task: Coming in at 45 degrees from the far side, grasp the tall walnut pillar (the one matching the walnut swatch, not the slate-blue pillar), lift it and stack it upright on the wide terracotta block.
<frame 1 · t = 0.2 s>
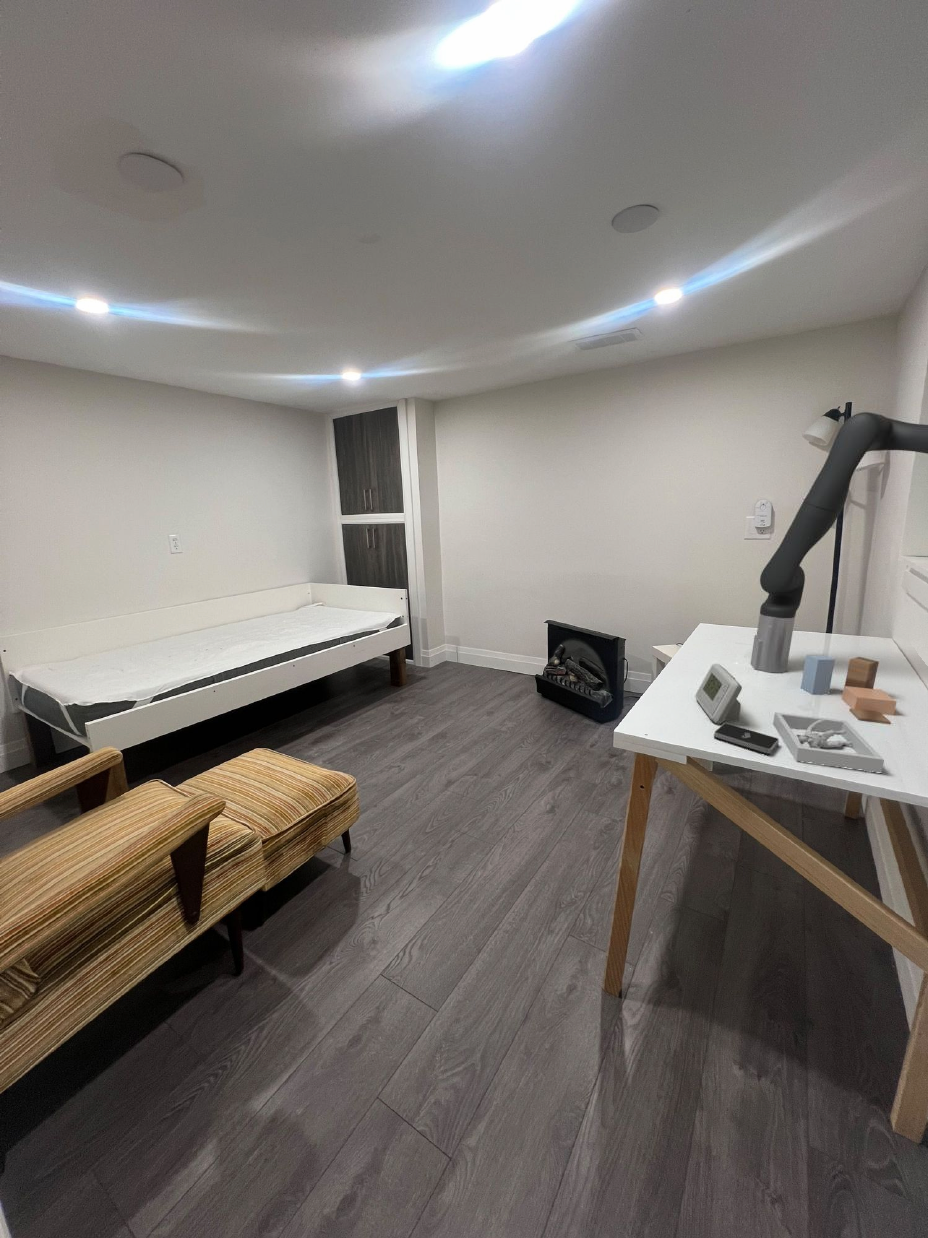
slate pillar: (814, 691, 133), on the table
grey display tray: (821, 746, 103), on the table
terracotta block: (866, 708, 123), on the table
soldier figure: (822, 748, 103), resting in grey display tray
walnut swatch: (869, 717, 117), on the table
digital clock: (714, 713, 120), on the table
walnut pillar: (857, 695, 130), on the table
external hard drive: (744, 744, 105), on the table
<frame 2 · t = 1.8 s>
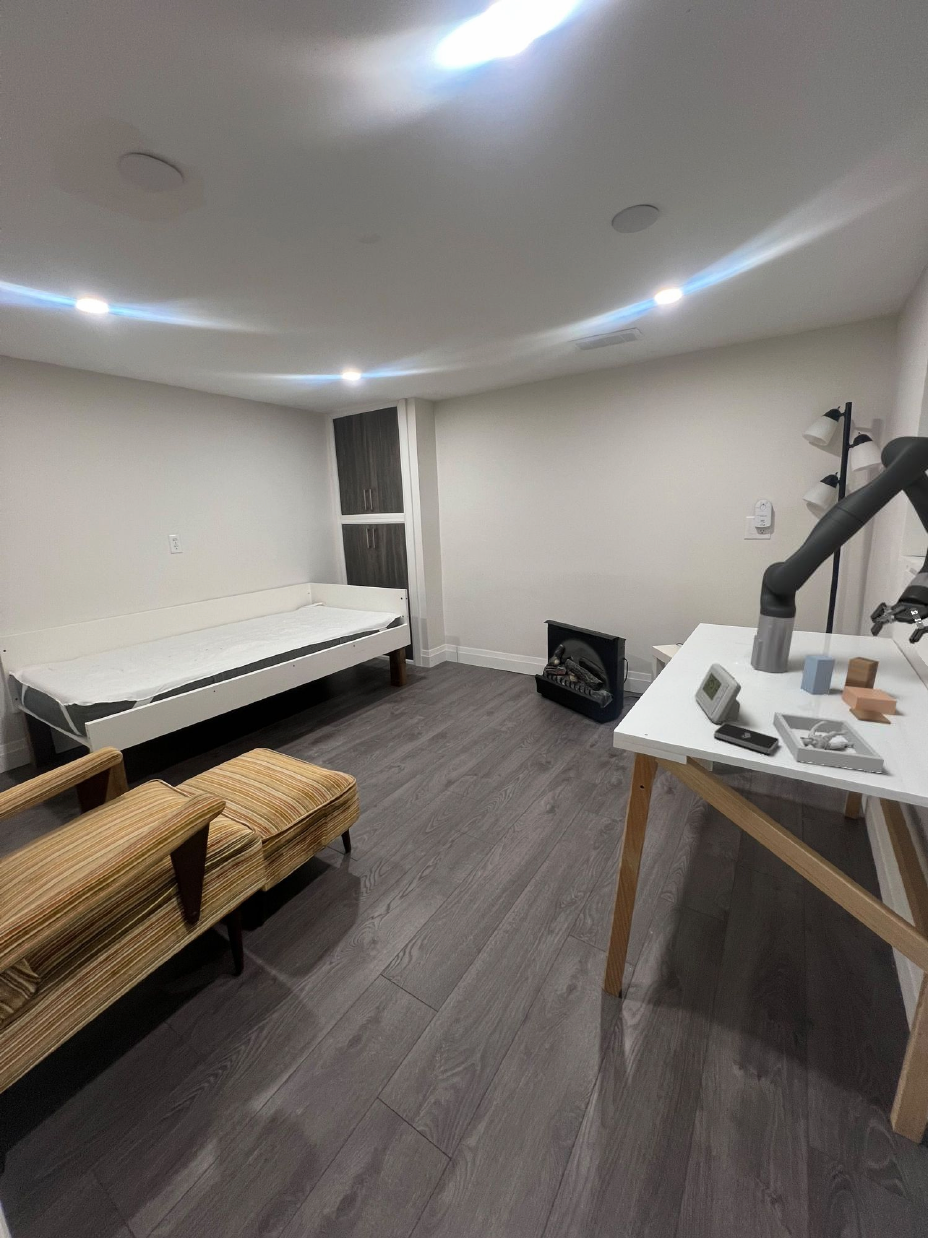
hand: (891, 638, 131), 15 cm above the table, tool tilted 45°, fingers open, 8 cm apart
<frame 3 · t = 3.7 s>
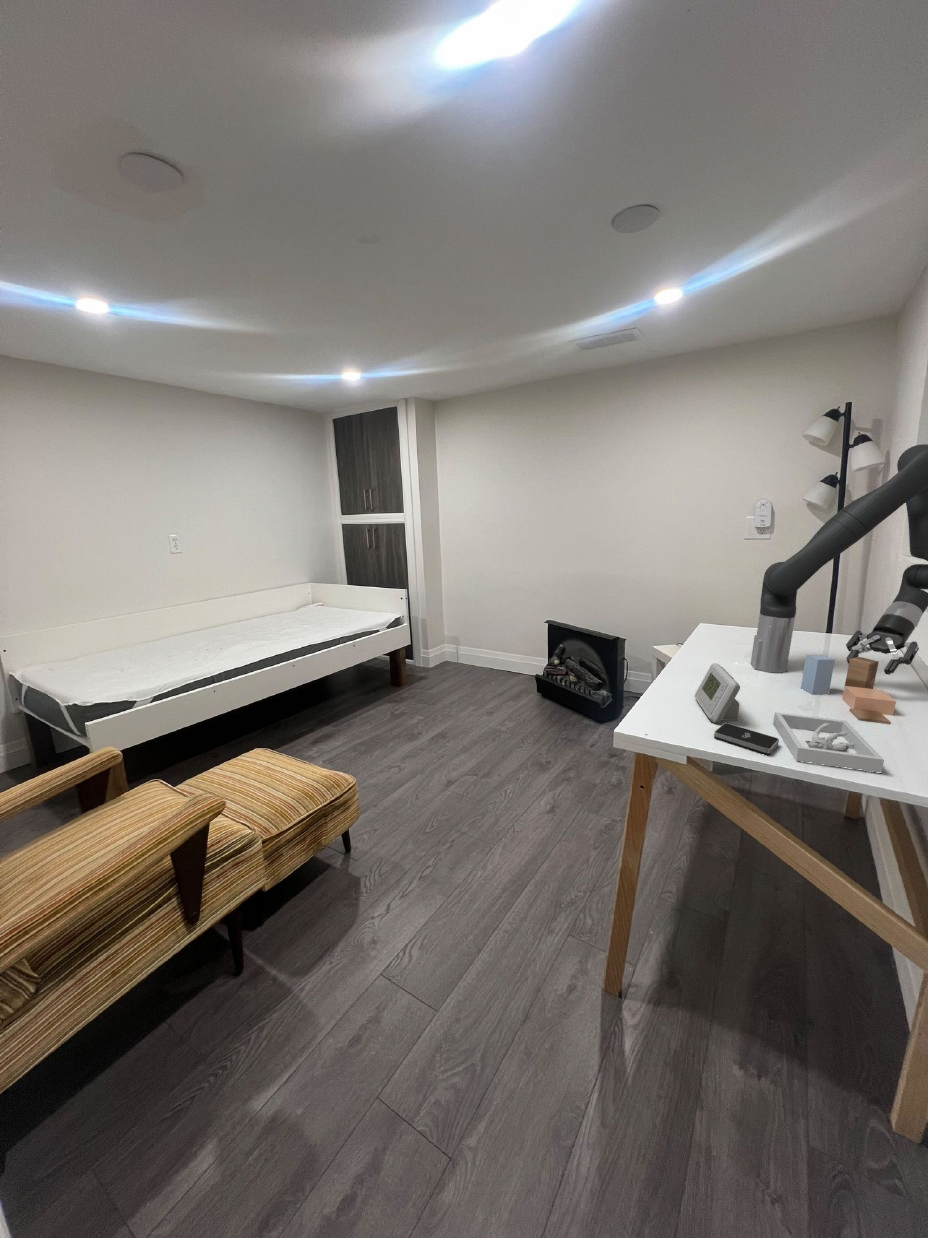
hand: (867, 668, 129), 7 cm above the table, tool tilted 45°, fingers open, 8 cm apart
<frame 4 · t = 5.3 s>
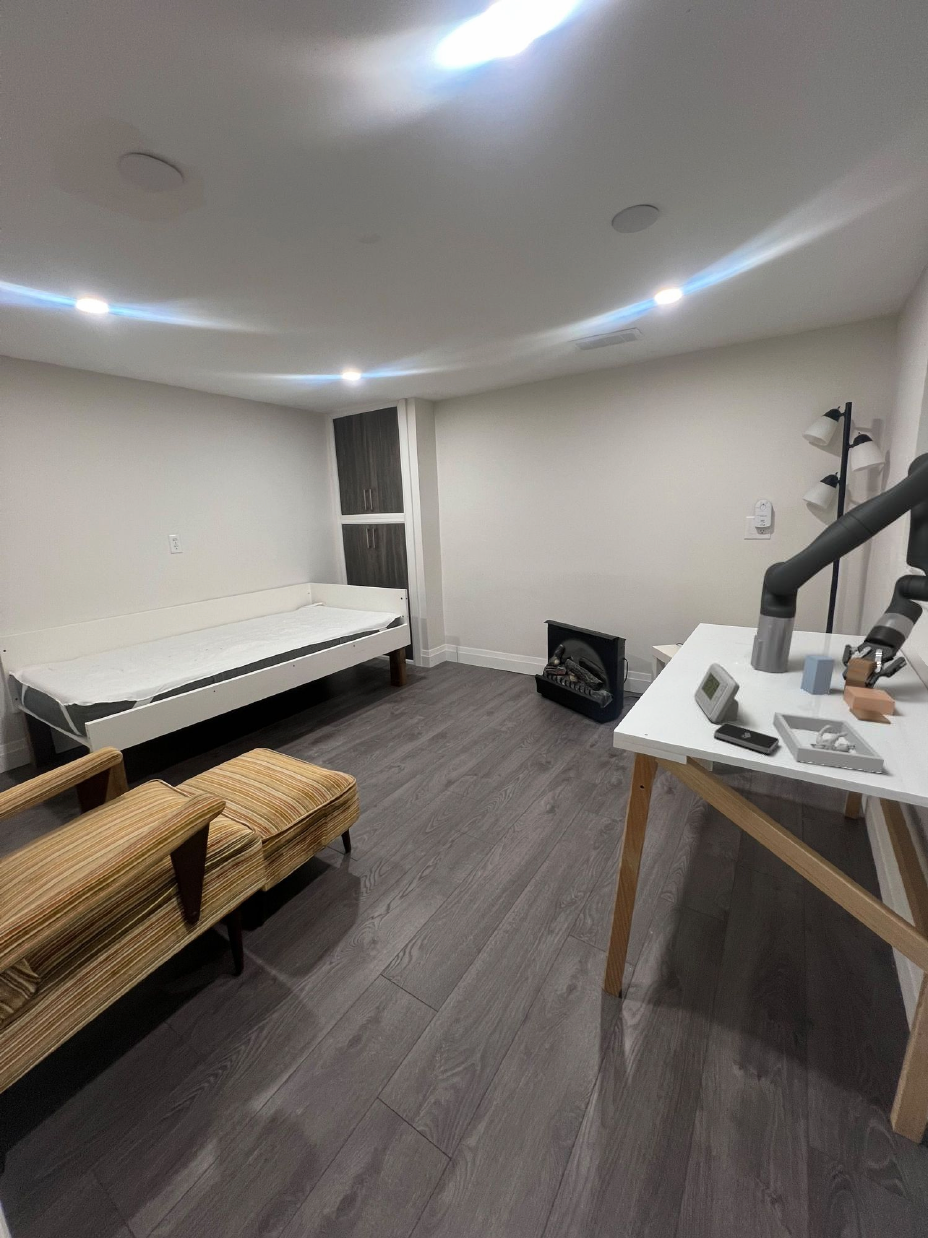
hand: (856, 682, 129), 4 cm above the table, tool tilted 45°, fingers closed on walnut pillar, 4 cm apart
soldier figure: (831, 754, 100), resting in grey display tray
walnut pillar: (857, 695, 130), on the table, touching gripper
everything else where it was.
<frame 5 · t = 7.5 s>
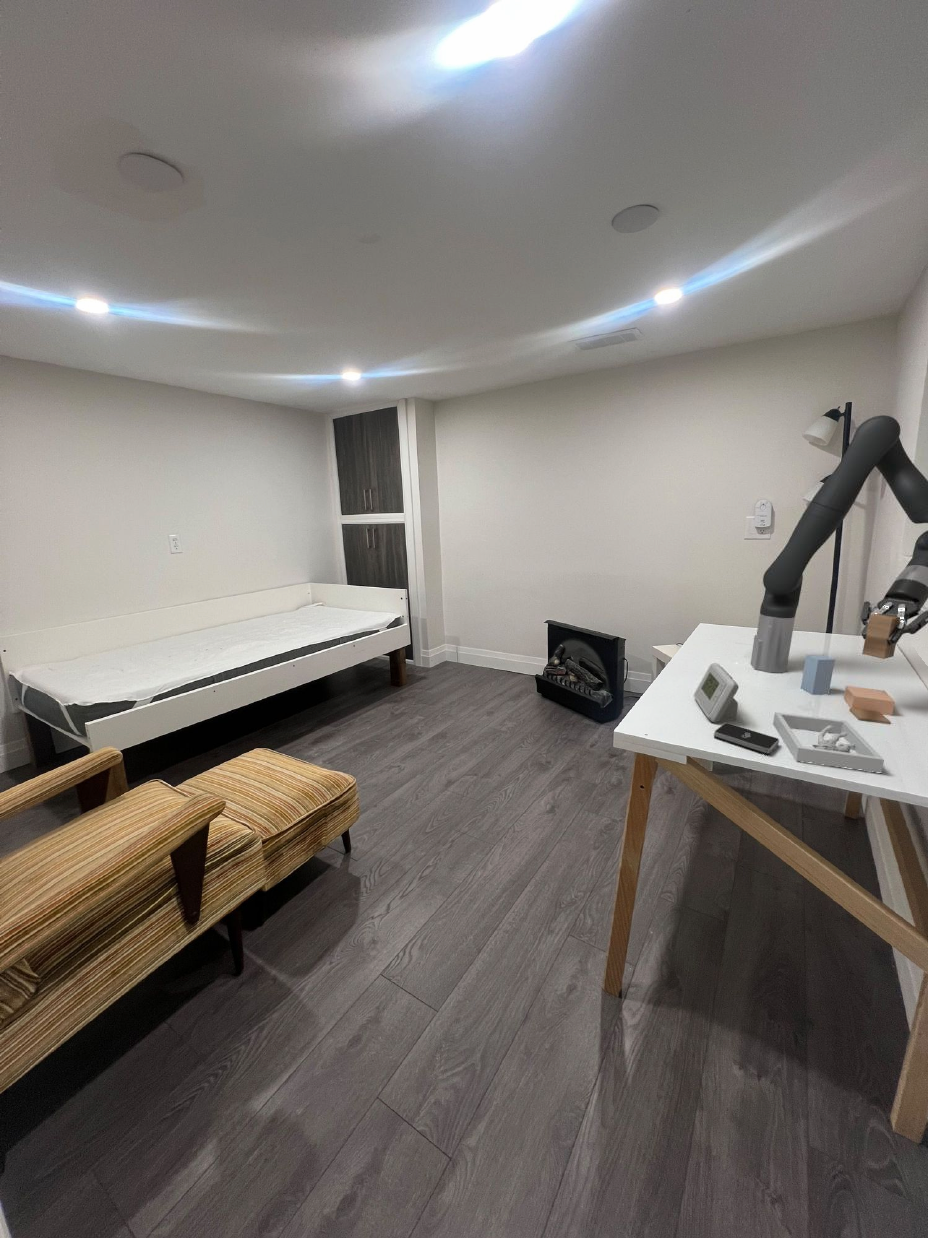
hand: (876, 640, 118), 18 cm above the table, tool tilted 45°, fingers closed on walnut pillar, 4 cm apart
walnut pillar: (877, 655, 120), point 14 cm above the table, touching gripper
everything else where it was.
when the fingers open (10 cm above the table, at t = 9.8 s): walnut pillar drops 2 cm, resting on terracotta block.
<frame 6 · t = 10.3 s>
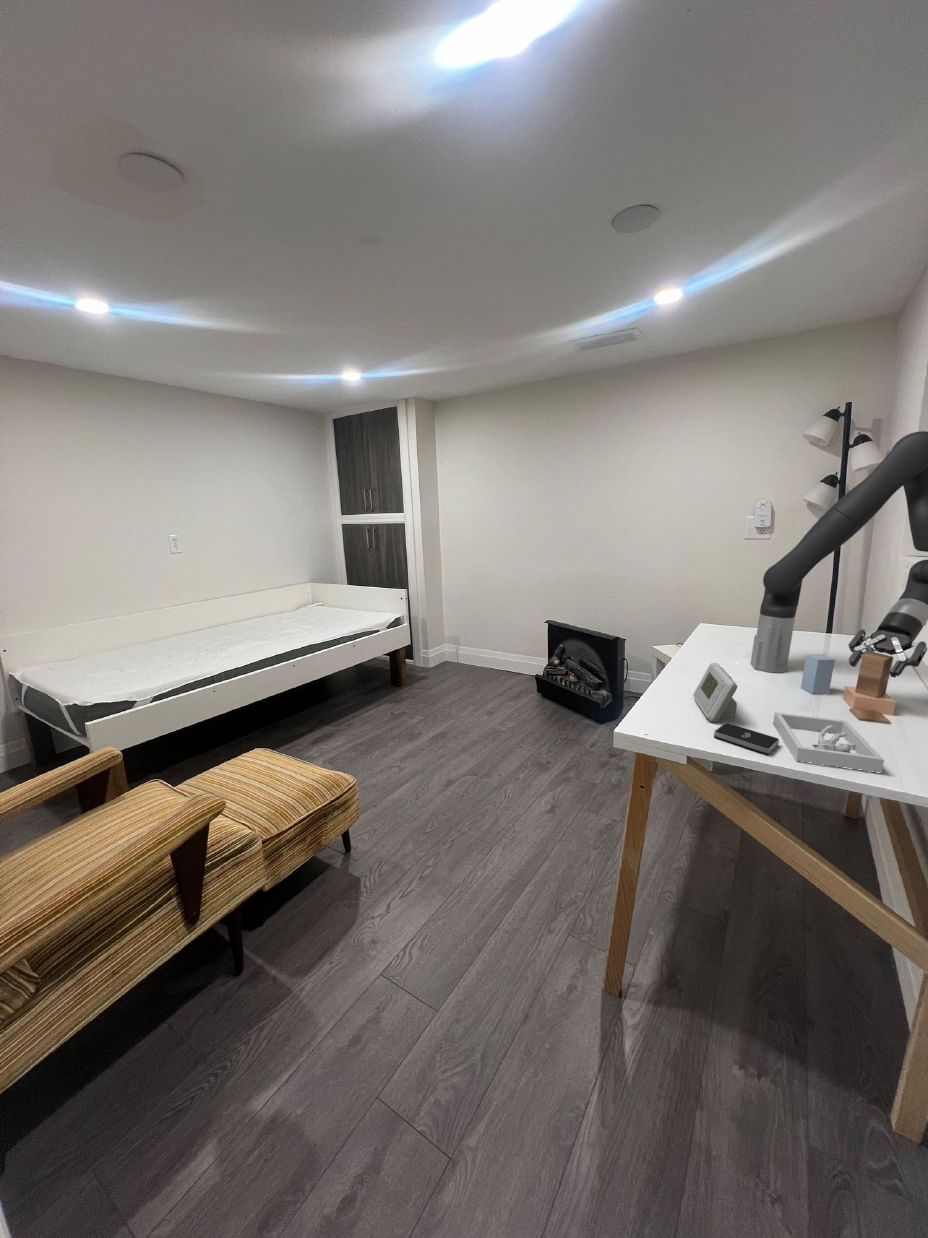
hand: (871, 670, 120), 10 cm above the table, tool tilted 45°, fingers open, 8 cm apart
terracotta block: (866, 708, 123), on the table, touching walnut pillar
walnut pillar: (870, 693, 122), point 4 cm above the table, touching terracotta block
everything else where it was.
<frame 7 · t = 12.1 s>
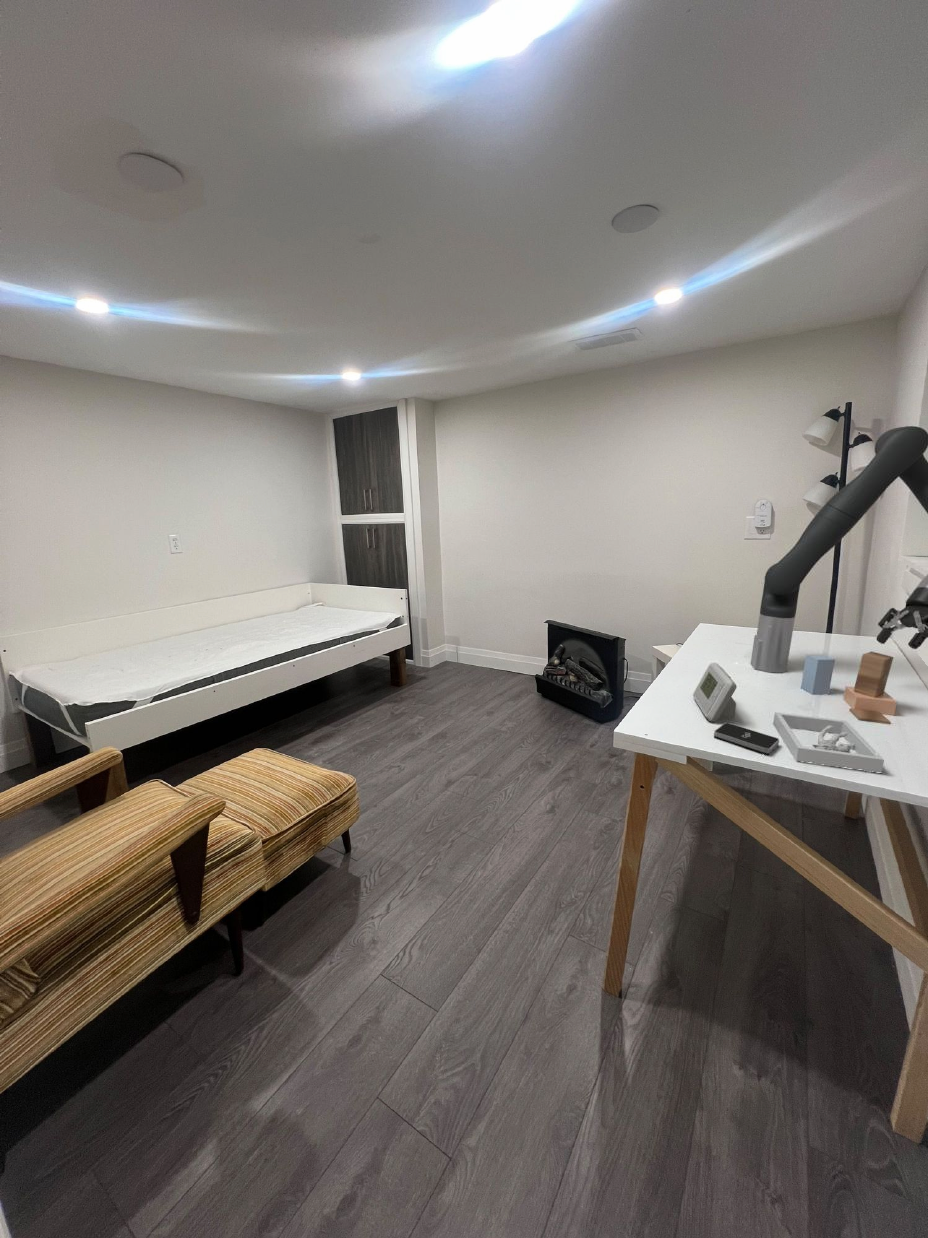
hand: (895, 644, 126), 15 cm above the table, tool tilted 40°, fingers open, 8 cm apart
soldier figure: (832, 754, 100), resting in grey display tray
everything else where it was.
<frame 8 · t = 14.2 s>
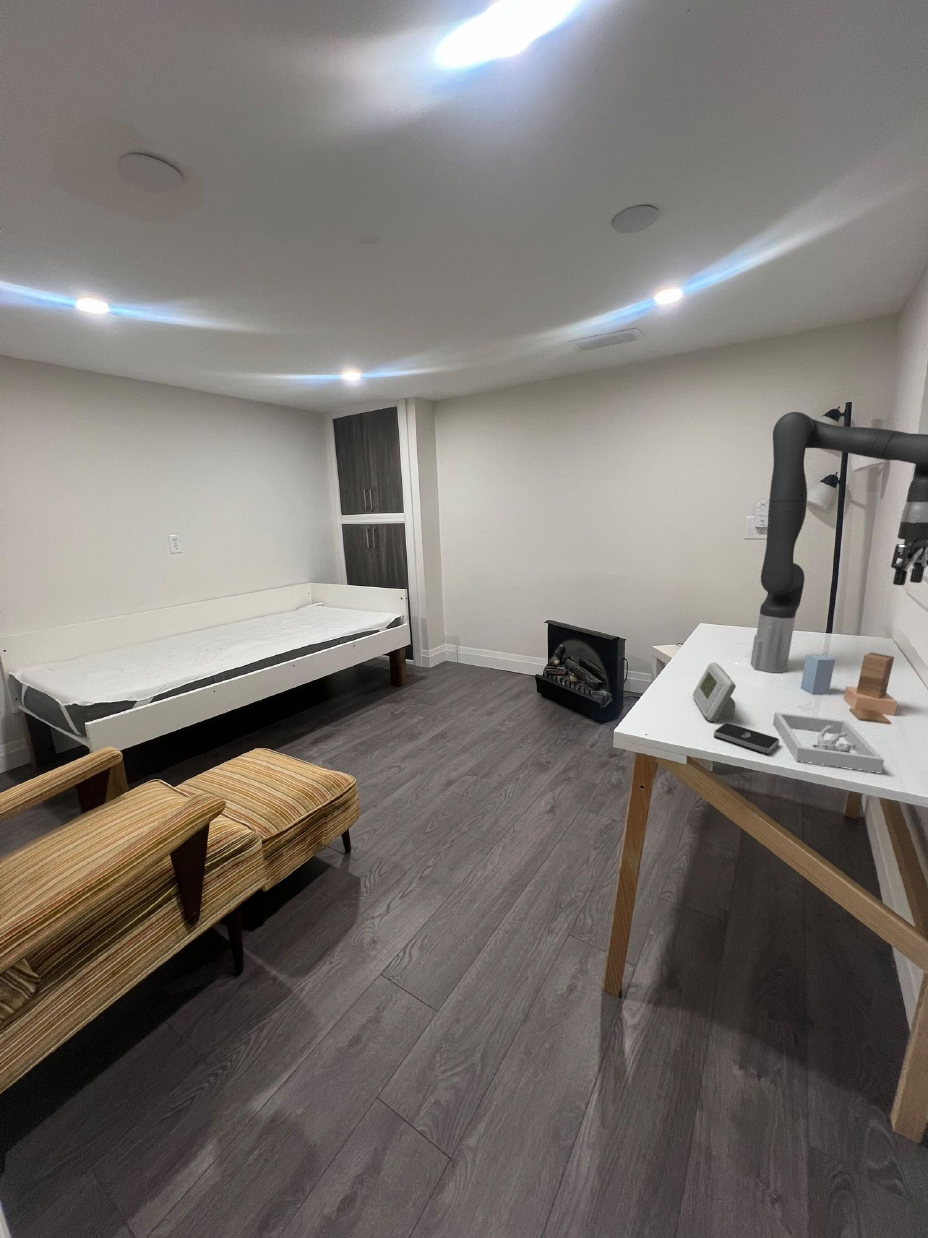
hand: (907, 583, 126), 30 cm above the table, tool pointing down, fingers open, 8 cm apart
at the end: walnut pillar 0.1 cm off-centre on the terracotta block, point 4.0 cm above the terracotta block's base; walnut pillar tilted 1°; the gripper is holding nothing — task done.
